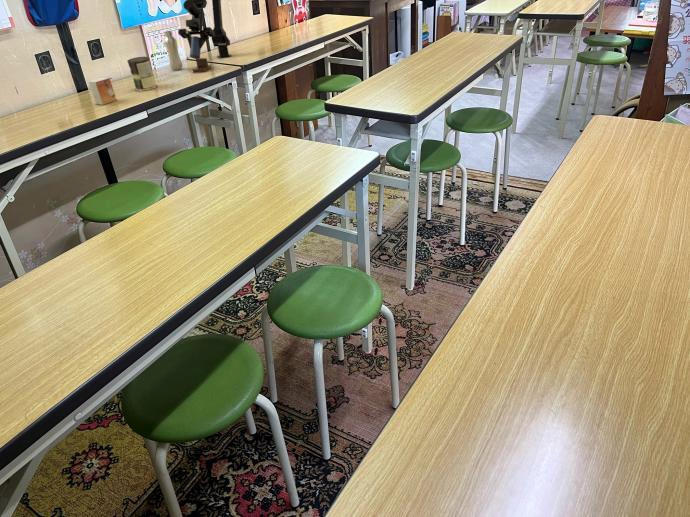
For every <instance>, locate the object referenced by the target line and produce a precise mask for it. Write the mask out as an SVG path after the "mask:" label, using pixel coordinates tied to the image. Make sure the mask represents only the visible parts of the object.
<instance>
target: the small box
mask: <svg viewBox="0 0 690 517" xmlns="http://www.w3.org/2000/svg"><path fill="white" fill-rule="evenodd" d="M88 85H89V88H90V91H91V95H92V97H93V99H94V103H95V105H102V106H103V105H106V104H109V103H112V102H116V101H117V96H116V93H115V91H114V88H113V84H112V81H111V78H110V77H100V78H99V77H98V78H96V79H92V80H89V81H88Z"/></svg>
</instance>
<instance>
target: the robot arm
mask: <svg viewBox="0 0 690 517" xmlns="http://www.w3.org/2000/svg"><path fill="white" fill-rule="evenodd" d="M211 3H212V4H211V5H212V16H213V29H212V27H211V26H206V27H205V24H204V16H206V13H205V12H204V10H203V9H206V7H207V5H208V1H207V0H184V2H183V3H182V4H183V9H184V10H185V11H186V12H187V13H188V14H189V15H190V16H191V18H190V19H185V27H186V28H179V29H178V30H177V34H178V35H179V36H180V37H181V38H182V39H187V42H188V45H189V49H190V48H191V37H192V36H198V35H199V37H200V44H199V47H200V48H201V49H202V48H203V46H204V44H205V43H206V42H207V40H209V39H210V38H211V42H212V44H213V47H215V48H216V47H217V51H218V55H217V57H218V58H220V59H224V58H229V57H232V54H230V52H229V48H228V47H229V46H231V40H230V38H229V37H228V36H227V32H226V31H225V29H224V26H223V14H222V13H223V12H222V0H211ZM187 28H188V29H187Z"/></svg>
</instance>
